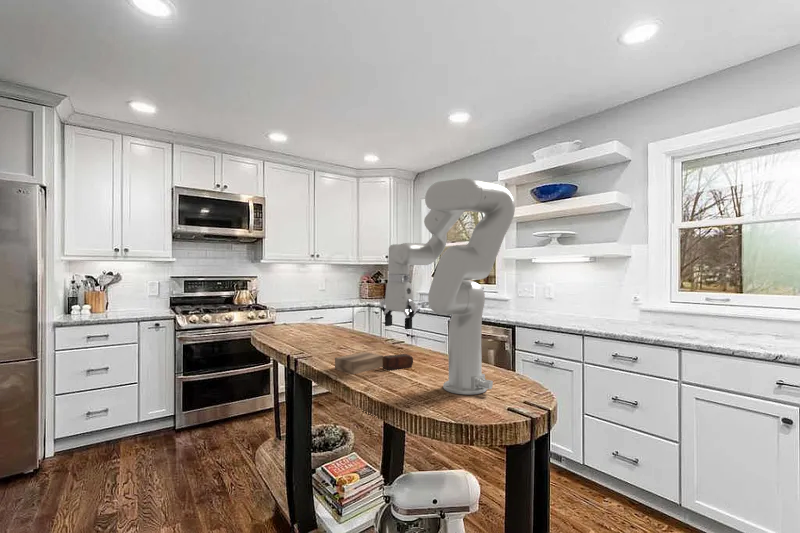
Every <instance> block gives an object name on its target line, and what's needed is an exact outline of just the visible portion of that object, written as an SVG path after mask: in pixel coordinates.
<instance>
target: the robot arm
mask: <svg viewBox="0 0 800 533" xmlns="http://www.w3.org/2000/svg"><path fill="white" fill-rule="evenodd" d="M424 201H425V205H426V207H427V208H428V209H429V210H430V211H429V212H428V213H427V214H426V215H425V217H424V220H423V223H424V226H425V228H426V229H427V230H428V232H430V234H432V236H431V237H430V238H429V240H428V241H427V242H426V243H419V242H402V243H400V244H399V243H396V244H395V243H394V244H390V245H389V247H388V261H387V262H388V263H387V264H388V269H387V270H388V272H387V273H388V274H387V275H388V276H387V280H388V281H387V284H386V288H385V298H384V299H383V300H382V301H380V306H381V311H382V312H383V315H384V327H391V326H393V314H392V313H393V312H399V313H403V314H404V315H405V318H404V330H407V331H408V330H412V329H413V318H414V317H415V315H416V314H417V310H418V309H419V306H418V305H419V304H418V305H417V304H416V302H414V292H413V286H412V282H411V283H410V281H411V280H412V276H410V268H411V267H410V266H428V265H432V264H433V263H434V262H435V261H436V260H437V259H439V261H438V264H437V266H436V270H435V272H434V275H433V277H432V281H431V283H430V286H429V287H430V288H429V289H428V295H427V296H428V298H427V299H428V300H427V301H428V305H429V307H430V309H431V311H433V313H435V314H437V315H440V316H441V315H443V316H445V315H449V316H450V315H451V318H450V320H449V324H448V380H446V381H445V382H444V383H443V385H442V386H443V387H442V388H443V389H444V390H445V391H447V392H448V393H452V394H457V395H464V396H465V395H466V396H467V395H468V396H469V395H479V394H480V395H481V394H484V393H485V392H487V390H492V389H493V384H494V381H493V380H489V379H486V374H485V373H482V372H483V371H482V368H483V367H482V364H483V363H482V332H483V331H482V326H483V325H482V324H483V322H482V321H483V314H484V307H485V302H486V301H485V300H486V298H485V296H486V295H485V290H484V288H483V287H482V285H481V284H479V283H478V282H476V281H478V280H484V279H486V278H487V277H488V276H489V275H490V274H491V272H492V269H493V267H494V264H495V262H496V260H497V256H498V254H499V251H500V249H501V247H502V244H503V241H504V239H505V237H506V234H507V232H508V230H509V228H510V226H511V224H512V221H513V220H514V216H515V213H516V212H515V210H516V206H515V200H514V197H513V195H512V194H511V192H510V190H509V189H507V188H506V187H504V186H502V185H500V184H497V183H493V182H489V181H483V180H479V179H474V178H467V177H463V178H455V179H450V180H448V179H447V180H440V181H437V182H434V183H432V184H431V185H430V186H429V187H428V188H427V190H426V192H425V196H424ZM465 212H471V213H481V214H483V215H484V216H483V217H482V218H481V219H480V220H479V222H477V224H476V225H475V227H474V228H473V231H472V233H471V236H470V239H469V241H468V243H467V244H466V245H453V246H450V247H448V248H446V246H447V241H448V239H447V238H448V237H447V233H448V232H449V231H450V230H451V229H452V227H453V226H454V225H455V224H456V223H457V221H459V219H460V218H461V217H462V216H463V214H464V213H465ZM439 257H440V258H439Z"/></svg>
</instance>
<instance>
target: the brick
mask: <svg viewBox="0 0 800 533" xmlns="http://www.w3.org/2000/svg"><path fill="white" fill-rule="evenodd" d="M382 360H383V367H382V369H383V370H384V369H385V370H384V371H387V372H390V370H391V371H397V369H398V370H403V368H404V369H409V368H413V365H414V357H413V356H412V355H411V354H408V353H400V354H391V355H383V359H382Z"/></svg>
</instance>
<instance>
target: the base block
mask: <svg viewBox="0 0 800 533" xmlns="http://www.w3.org/2000/svg"><path fill="white" fill-rule="evenodd" d="M383 357H384V355H383V354H377V353H373V352H372V353H371V352H368V351H362V352H358V353H353V354H348V355H343V356H337V357H334V370H336V371H340V372H345V373H347V374H351V375H355V374H359V373H364V372H367V371H368V372H369V371H372V370H376V369H380V368H383V360H382V359H383Z"/></svg>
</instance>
